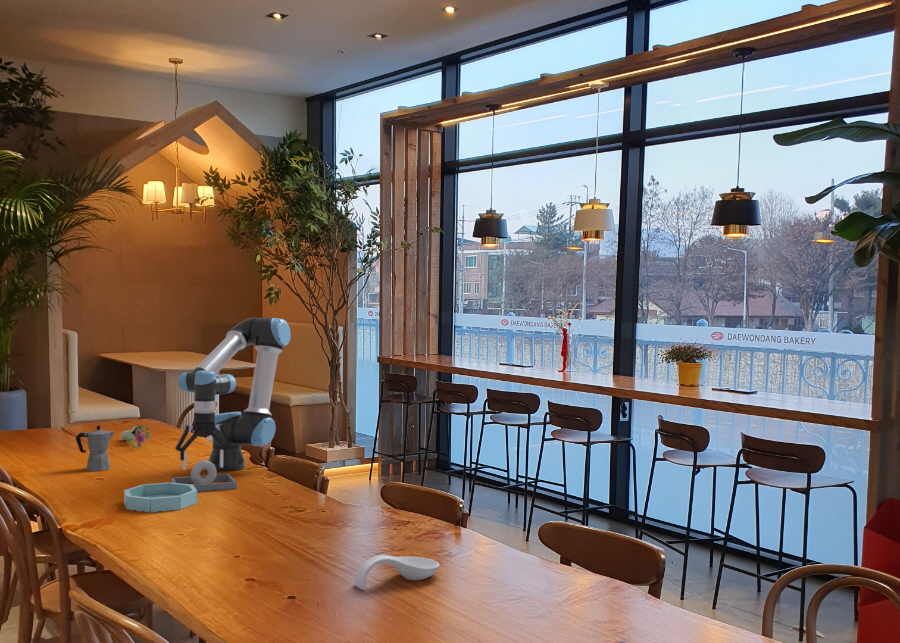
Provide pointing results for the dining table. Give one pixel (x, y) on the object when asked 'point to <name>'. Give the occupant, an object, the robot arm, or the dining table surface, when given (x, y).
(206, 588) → the dining table surface
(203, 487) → the grey rectangular frame
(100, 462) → the coffeepot
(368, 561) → the spoon rest
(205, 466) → the donut
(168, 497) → the bowl
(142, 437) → the flower vase
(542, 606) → the dining table surface
